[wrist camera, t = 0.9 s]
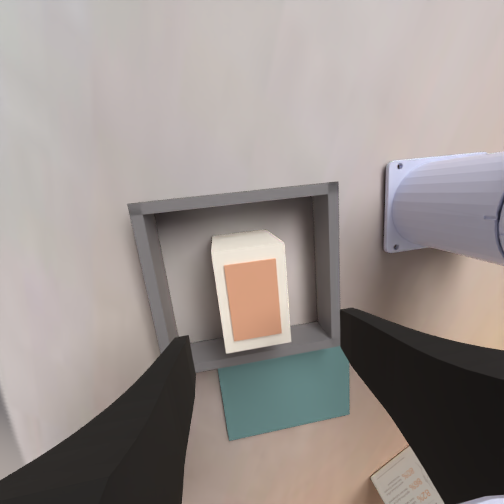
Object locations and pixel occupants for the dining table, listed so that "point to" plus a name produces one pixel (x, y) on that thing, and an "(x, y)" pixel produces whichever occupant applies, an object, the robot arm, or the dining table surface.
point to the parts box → (251, 289)
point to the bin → (302, 335)
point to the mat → (285, 392)
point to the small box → (405, 481)
